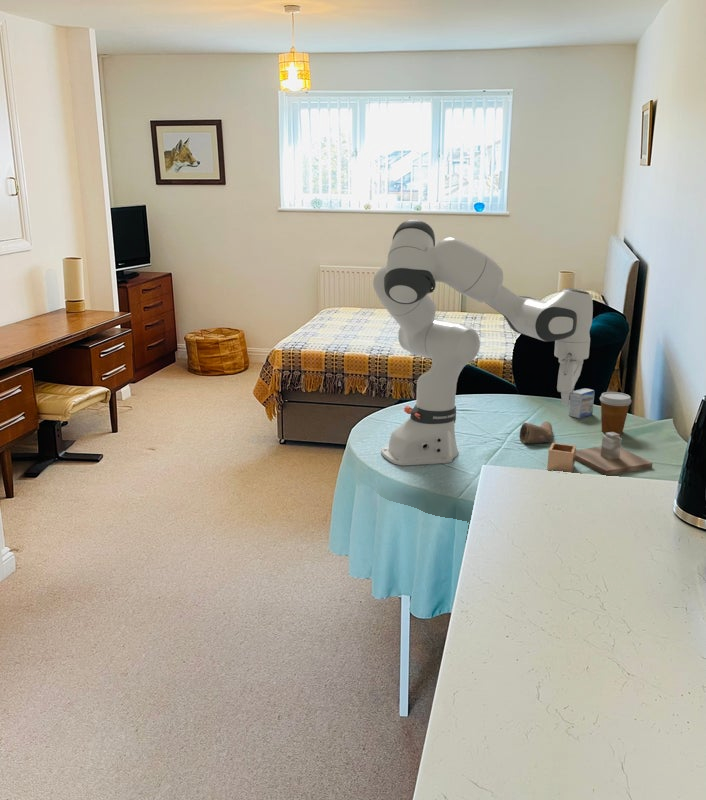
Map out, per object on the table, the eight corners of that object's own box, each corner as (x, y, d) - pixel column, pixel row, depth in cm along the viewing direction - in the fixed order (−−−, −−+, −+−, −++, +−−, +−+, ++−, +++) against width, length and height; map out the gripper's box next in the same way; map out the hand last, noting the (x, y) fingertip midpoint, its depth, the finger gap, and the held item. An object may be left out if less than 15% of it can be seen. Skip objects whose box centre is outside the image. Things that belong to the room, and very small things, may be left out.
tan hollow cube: (571, 474, 201) (573, 453, 199) (547, 470, 203) (548, 450, 202) (574, 466, 207) (576, 445, 205) (550, 462, 209) (552, 442, 207)
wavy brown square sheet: (605, 475, 200) (609, 446, 197) (568, 456, 214) (571, 428, 212) (652, 467, 206) (655, 439, 203) (612, 449, 220) (615, 422, 217)
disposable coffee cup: (590, 430, 236) (593, 394, 233) (607, 425, 242) (611, 389, 238) (616, 438, 229) (620, 401, 226) (633, 432, 235) (638, 396, 231)
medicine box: (579, 419, 248) (581, 394, 246) (567, 415, 251) (570, 391, 249) (592, 414, 253) (595, 390, 250) (581, 411, 256) (583, 387, 254)
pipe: (556, 417, 235) (525, 409, 237) (555, 433, 219) (521, 424, 221) (551, 435, 237) (520, 427, 239) (549, 453, 221) (516, 444, 223)
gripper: (579, 359, 185) (574, 412, 189) (588, 343, 203) (583, 392, 207) (553, 357, 187) (549, 409, 191) (564, 341, 205) (560, 389, 209)
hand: (567, 400), depth 199 cm, fingers open, 8 cm apart
